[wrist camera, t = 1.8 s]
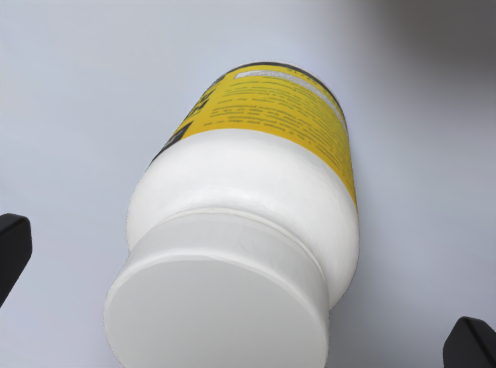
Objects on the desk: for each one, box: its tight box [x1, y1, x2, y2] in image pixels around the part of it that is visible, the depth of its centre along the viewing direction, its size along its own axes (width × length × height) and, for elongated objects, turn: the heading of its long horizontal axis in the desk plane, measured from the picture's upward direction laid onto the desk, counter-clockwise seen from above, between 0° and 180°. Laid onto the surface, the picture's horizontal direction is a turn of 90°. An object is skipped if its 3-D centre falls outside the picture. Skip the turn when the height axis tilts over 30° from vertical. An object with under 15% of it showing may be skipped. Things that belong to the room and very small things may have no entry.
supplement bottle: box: [103, 60, 360, 368], centre depth 12 cm, size 5×5×10 cm
